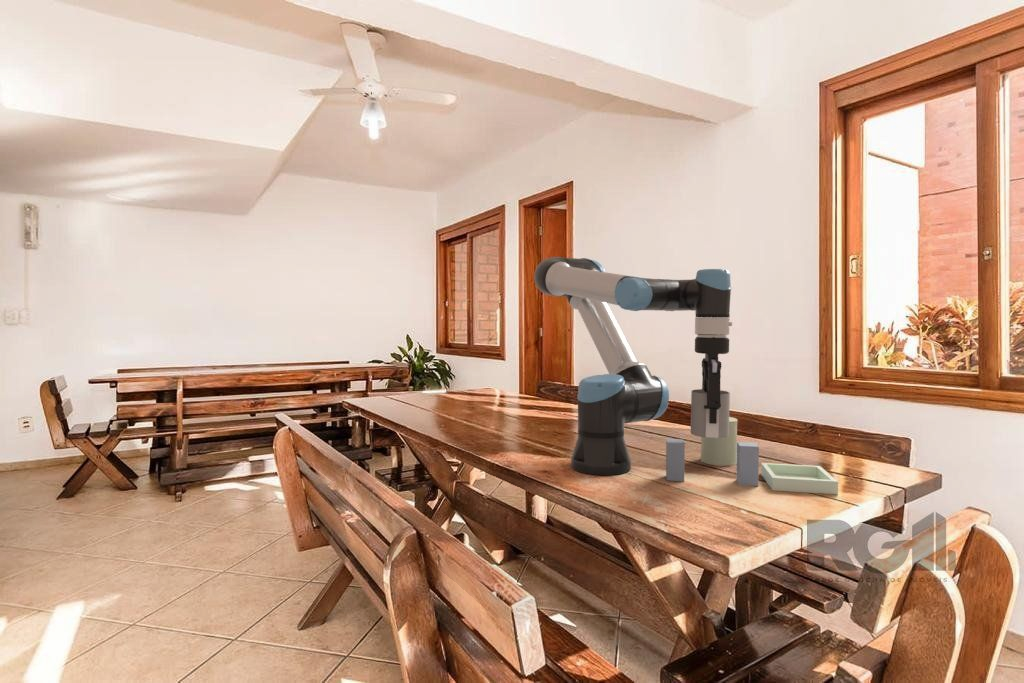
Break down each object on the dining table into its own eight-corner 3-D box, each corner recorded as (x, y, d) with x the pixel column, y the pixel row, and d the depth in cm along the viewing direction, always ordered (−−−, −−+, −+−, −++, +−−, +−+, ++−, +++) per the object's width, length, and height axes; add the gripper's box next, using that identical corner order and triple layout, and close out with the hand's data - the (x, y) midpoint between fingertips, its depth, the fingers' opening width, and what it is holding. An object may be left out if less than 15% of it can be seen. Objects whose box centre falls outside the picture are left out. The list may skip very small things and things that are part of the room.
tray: (772, 490, 122) (772, 477, 122) (760, 474, 135) (761, 462, 135) (837, 494, 119) (838, 481, 119) (819, 477, 132) (819, 465, 132)
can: (731, 457, 151) (731, 413, 151) (742, 466, 142) (742, 420, 142) (696, 456, 152) (697, 413, 152) (705, 465, 143) (705, 419, 142)
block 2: (739, 484, 126) (739, 445, 126) (736, 480, 130) (737, 442, 130) (758, 486, 125) (758, 446, 125) (754, 481, 129) (755, 442, 129)
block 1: (666, 480, 130) (666, 442, 130) (666, 475, 134) (666, 438, 134) (684, 481, 129) (684, 443, 129) (683, 476, 133) (683, 439, 133)
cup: (729, 432, 132) (730, 390, 131) (727, 439, 124) (728, 395, 123) (692, 429, 135) (693, 388, 134) (688, 435, 128) (689, 392, 127)
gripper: (736, 338, 117) (733, 444, 118) (723, 334, 138) (720, 424, 139) (699, 338, 119) (696, 442, 120) (691, 334, 139) (689, 423, 141)
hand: (709, 432), depth 129 cm, fingers closed on cup, 8 cm apart
